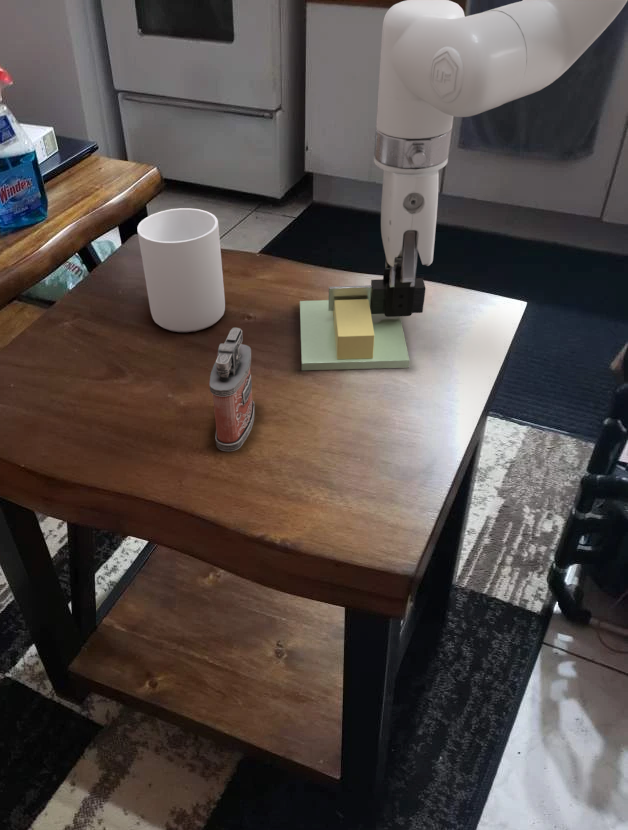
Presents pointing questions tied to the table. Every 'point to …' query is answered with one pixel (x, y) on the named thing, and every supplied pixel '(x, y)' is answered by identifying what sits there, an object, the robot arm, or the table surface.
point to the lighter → (232, 392)
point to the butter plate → (322, 344)
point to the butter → (353, 329)
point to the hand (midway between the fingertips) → (396, 307)
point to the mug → (182, 268)
